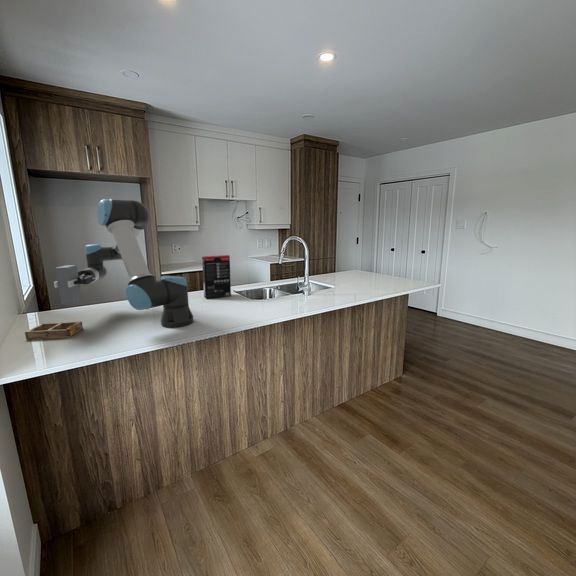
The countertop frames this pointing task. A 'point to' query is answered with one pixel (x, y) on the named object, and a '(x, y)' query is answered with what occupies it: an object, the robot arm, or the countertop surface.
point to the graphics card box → (216, 276)
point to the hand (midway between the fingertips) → (62, 284)
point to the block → (63, 276)
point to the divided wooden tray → (54, 330)
